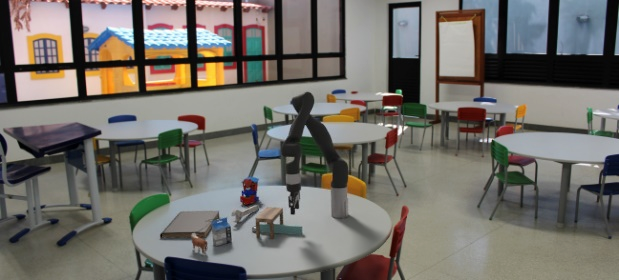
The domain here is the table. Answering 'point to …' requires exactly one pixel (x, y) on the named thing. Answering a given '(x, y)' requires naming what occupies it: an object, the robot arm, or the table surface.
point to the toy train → (249, 190)
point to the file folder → (190, 224)
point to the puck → (254, 229)
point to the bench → (268, 219)
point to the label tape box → (221, 232)
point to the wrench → (243, 213)
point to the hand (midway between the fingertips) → (295, 211)
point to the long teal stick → (281, 228)
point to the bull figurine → (199, 243)
